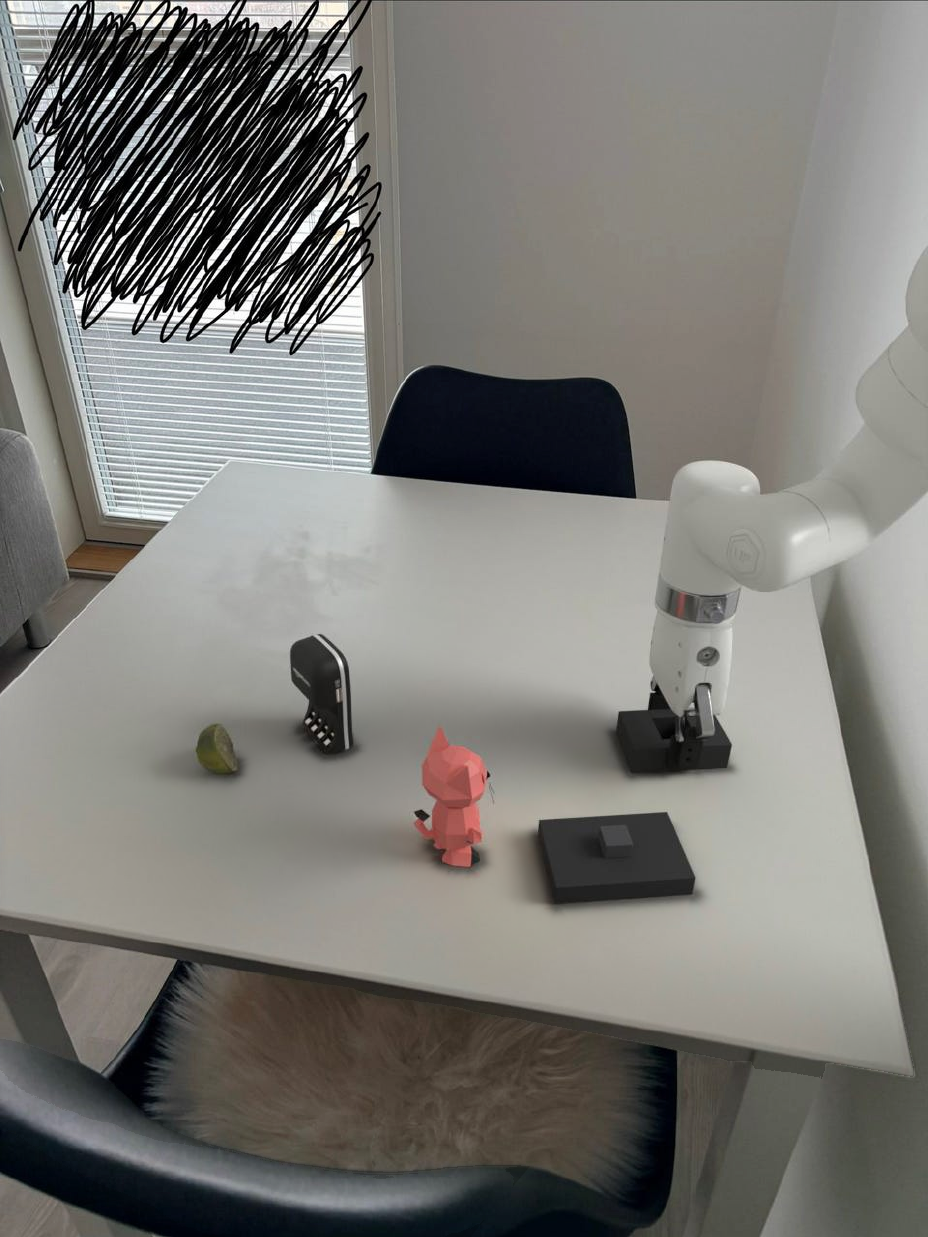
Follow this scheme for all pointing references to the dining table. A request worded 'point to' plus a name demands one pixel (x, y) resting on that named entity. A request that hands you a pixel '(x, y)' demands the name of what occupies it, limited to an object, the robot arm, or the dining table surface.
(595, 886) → the base pad
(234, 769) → the lime
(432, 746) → the cat figurine
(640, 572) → the dining table surface
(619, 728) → the black socket block
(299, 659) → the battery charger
